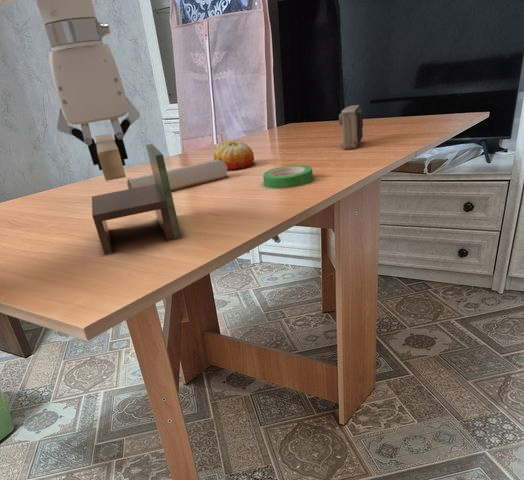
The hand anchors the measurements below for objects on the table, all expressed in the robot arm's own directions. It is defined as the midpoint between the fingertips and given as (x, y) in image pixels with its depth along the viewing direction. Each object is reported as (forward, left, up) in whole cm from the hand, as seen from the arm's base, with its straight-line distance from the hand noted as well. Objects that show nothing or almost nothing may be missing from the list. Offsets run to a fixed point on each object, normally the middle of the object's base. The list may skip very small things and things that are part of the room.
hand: (112, 165), depth 79 cm
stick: (0, 0, 0) cm, 0 cm away
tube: (+15, +32, -13) cm, 38 cm away
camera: (+67, +43, -13) cm, 81 cm away
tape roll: (+37, +16, -13) cm, 42 cm away
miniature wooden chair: (+1, 0, -13) cm, 13 cm away
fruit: (+32, +44, -13) cm, 56 cm away
